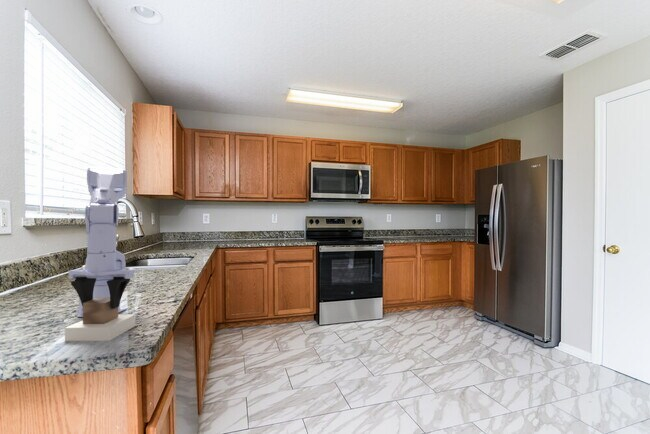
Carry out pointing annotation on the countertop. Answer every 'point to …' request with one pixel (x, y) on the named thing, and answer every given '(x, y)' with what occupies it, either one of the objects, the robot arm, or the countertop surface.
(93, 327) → the cream plinth
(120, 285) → the robot arm
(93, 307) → the walnut cube
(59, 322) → the countertop surface
